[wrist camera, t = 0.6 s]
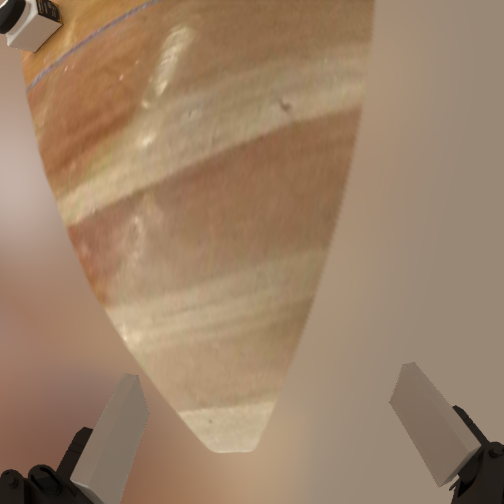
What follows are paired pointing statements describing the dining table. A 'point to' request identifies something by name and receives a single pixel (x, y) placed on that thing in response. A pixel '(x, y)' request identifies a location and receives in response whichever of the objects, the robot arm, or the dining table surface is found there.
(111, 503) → the robot arm
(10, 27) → the medicine bottle
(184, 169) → the dining table surface
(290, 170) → the dining table surface
